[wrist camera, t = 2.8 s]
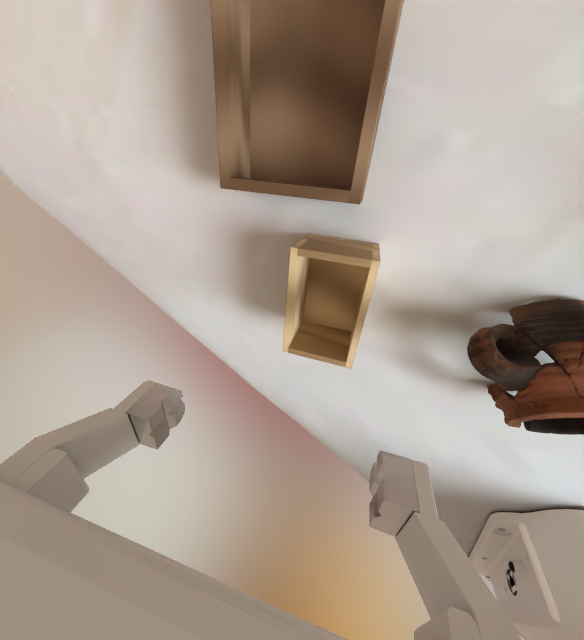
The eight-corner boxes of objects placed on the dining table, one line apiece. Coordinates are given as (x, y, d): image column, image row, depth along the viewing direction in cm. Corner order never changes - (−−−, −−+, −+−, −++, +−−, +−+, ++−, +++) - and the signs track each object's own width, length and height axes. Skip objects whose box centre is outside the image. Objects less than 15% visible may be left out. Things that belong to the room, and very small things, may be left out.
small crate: (355, 334, 25) (351, 368, 20) (298, 321, 26) (282, 351, 22) (379, 243, 20) (380, 261, 16) (308, 233, 22) (290, 247, 17)
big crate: (362, 200, 19) (359, 204, 16) (246, 187, 21) (220, 188, 18) (419, -75, 13) (435, -173, 9) (244, -56, 15) (203, -131, 11)
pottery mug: (650, 306, 18) (743, 430, 14) (522, 354, 26) (555, 441, 22) (500, 270, 17) (549, 392, 12) (415, 332, 25) (428, 419, 21)
